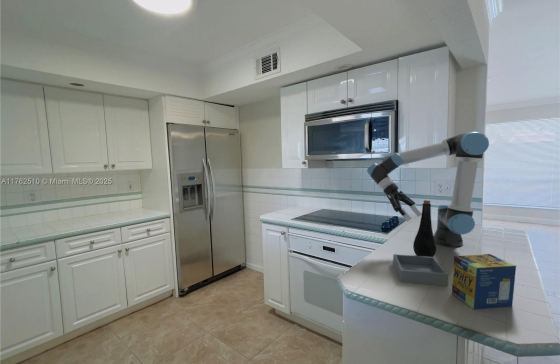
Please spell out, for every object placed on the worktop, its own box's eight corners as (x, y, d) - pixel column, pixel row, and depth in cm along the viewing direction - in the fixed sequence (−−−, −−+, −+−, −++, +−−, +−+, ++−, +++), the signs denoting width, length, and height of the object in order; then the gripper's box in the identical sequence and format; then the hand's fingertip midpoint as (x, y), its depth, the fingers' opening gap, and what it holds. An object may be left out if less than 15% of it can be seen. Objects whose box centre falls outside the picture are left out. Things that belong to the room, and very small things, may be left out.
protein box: (450, 293, 101) (453, 255, 99) (487, 291, 102) (490, 253, 100) (473, 310, 90) (476, 267, 89) (513, 307, 92) (517, 265, 90)
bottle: (433, 254, 138) (436, 199, 135) (438, 262, 128) (441, 203, 125) (411, 252, 142) (413, 198, 138) (414, 260, 132) (417, 202, 128)
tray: (433, 267, 124) (434, 257, 123) (447, 286, 106) (448, 274, 106) (393, 263, 128) (393, 254, 127) (400, 281, 111) (400, 270, 110)
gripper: (394, 188, 156) (419, 217, 146) (372, 193, 140) (398, 226, 130) (403, 180, 151) (429, 209, 142) (381, 184, 135) (410, 217, 126)
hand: (415, 217), depth 136 cm, fingers open, 13 cm apart
